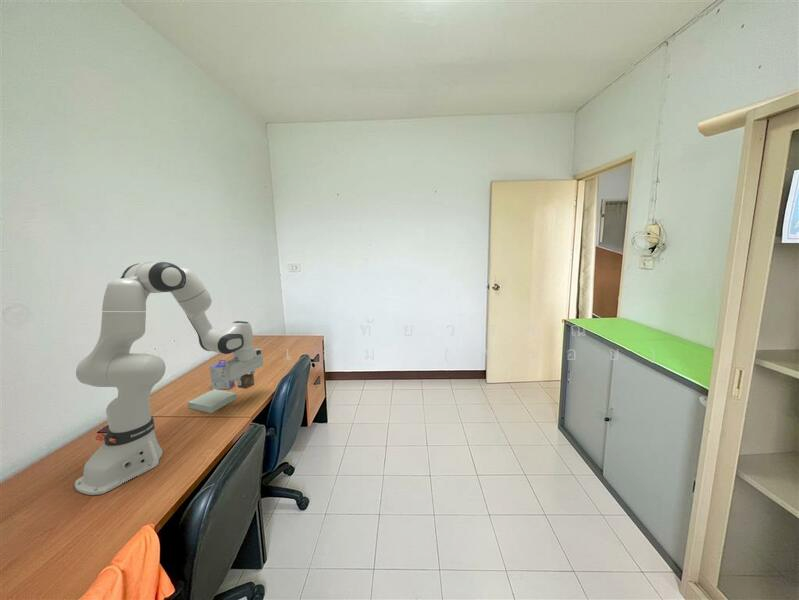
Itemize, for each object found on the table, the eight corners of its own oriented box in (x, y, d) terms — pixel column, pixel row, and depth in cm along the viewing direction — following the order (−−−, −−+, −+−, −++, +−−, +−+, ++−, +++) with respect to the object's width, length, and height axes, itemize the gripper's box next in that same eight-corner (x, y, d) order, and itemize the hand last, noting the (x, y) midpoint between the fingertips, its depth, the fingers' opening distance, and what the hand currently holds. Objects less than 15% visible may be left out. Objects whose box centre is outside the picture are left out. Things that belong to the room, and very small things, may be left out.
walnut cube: (246, 388, 148) (245, 378, 147) (238, 387, 149) (237, 377, 148) (254, 384, 152) (253, 374, 151) (246, 383, 154) (245, 373, 153)
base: (211, 413, 140) (210, 407, 140) (188, 408, 145) (187, 402, 144) (236, 398, 154) (236, 393, 153) (214, 394, 158) (214, 388, 157)
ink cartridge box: (235, 384, 169) (233, 359, 166) (230, 389, 164) (227, 363, 161) (217, 384, 169) (214, 359, 167) (211, 389, 164) (208, 363, 161)
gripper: (230, 362, 137) (233, 392, 140) (264, 348, 157) (266, 375, 159) (219, 360, 140) (222, 390, 142) (254, 347, 159) (256, 373, 161)
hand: (246, 382), depth 150 cm, fingers closed on walnut cube, 5 cm apart
